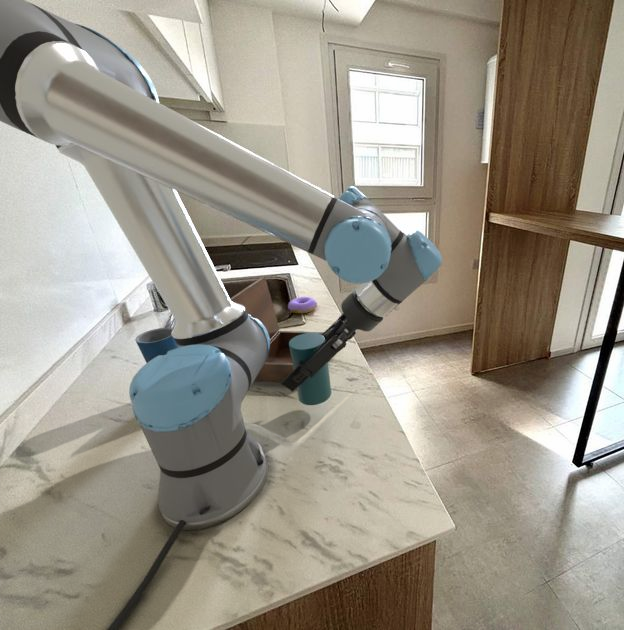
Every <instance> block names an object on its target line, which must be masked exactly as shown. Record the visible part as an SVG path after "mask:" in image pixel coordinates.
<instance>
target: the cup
mask: <svg viewBox="0 0 624 630" xmlns="http://www.w3.org/2000/svg"><path fill="white" fill-rule="evenodd" d="M172 330H173V328H172V327H159V328H153V329H150V330H147V331H145V332H142V333H140V334H139V335H137V336H136V337H135V338H134V339H135V343H136V344H137V346H138V349H139V351H140V352H141V355H142V357H143V358H144V362H145V364H146V363H148V362H149V361H151V360H152V359H154V358H155V357H157V356H159V355H162V356H163V355H166V354H167V352H168V351H170V350H173V349H176V348H179V346H178V345H177V343H176V341H175V340H174V338H173V336H172V334H171V333H172Z"/></svg>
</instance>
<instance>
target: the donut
mask: <svg viewBox="0 0 624 630" xmlns="http://www.w3.org/2000/svg"><path fill="white" fill-rule="evenodd" d="M317 307H318V302H317V299H315V298H313V297H310V296H300V297H296V298H293V299H292V300H290V301H289V302H288V304H287V309H288V310H289V311H290V312H291V313H294V314H306V313H310V312H312V311H314V310H315V309H316V308H317Z"/></svg>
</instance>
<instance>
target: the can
mask: <svg viewBox="0 0 624 630" xmlns="http://www.w3.org/2000/svg"><path fill="white" fill-rule="evenodd" d="M324 341H325V338H324V336H323V335H321V334H318V333H305V334H301V335H298V336H296V337H294V338H292V339H291V340H290V342H289V347H290V353H291V359H292V364H293V370H295V369H296V368H297V367H298V366H299V364H298V363H299V362H300V361H302V362H305V361H306V360H307V359H308V358H309V357H310V356H311V355H312V354H313V353H314V352H315V350H316V349H317V348H318V347H319V346H320V345H321V344H322V343H323V342H324ZM331 386H332V385H331V377H330V370H329V361H328V362H327V363H326V364H325V365H324V366H323V367H322V368H321V369H320V370H319V371H318V372H317V373H316V374H315V375H314V376H313V377H312V378H310V377H308V378H307V379H306V380H305V381H304V382H303V383H302V384H300V385H299V386H298V387H297V388H296V391H297V397H298V401H299V402H300V403H301V404H302V405H305V406H318V405H320V404H323V403H325V402H326V401H328V400H329V399H330V398H331V396H332V387H331Z"/></svg>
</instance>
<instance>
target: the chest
mask: <svg viewBox="0 0 624 630" xmlns="http://www.w3.org/2000/svg"><path fill="white" fill-rule="evenodd" d="M323 332H324V331H295V330H293V331H292V330H291V331H289V330H279V331H278V332H277V333H276V334H275V335H274V336H273V337H272V338H271V339H270V349H269V352H268V356H267V359H266V362H265V363H264V365H263V367H262V368H261V370H260V371H259V373H258V375H257V376H256V378H255V380H254V382H255V383H256V382H258V383H282V382H283V380H285V379H286V378H287V377H288V376H289V375H290V374H291V373H292V372H293V371H294V370H293V364H292V359H291V353H290V347H289V342H290V340H291V339H292V338H294V337H296V336H298V335H301V334H305V333H318V334H321V335H322V333H323Z"/></svg>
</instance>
